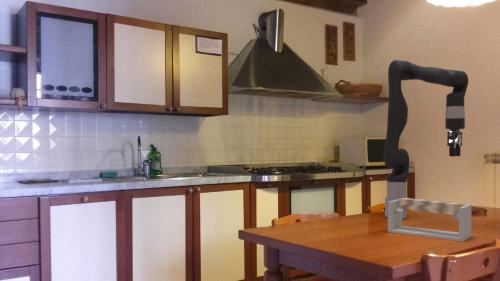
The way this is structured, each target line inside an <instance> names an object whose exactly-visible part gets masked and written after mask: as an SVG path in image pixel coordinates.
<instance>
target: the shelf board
mask: <svg viewBox="0 0 500 281" xmlns="http://www.w3.org/2000/svg"><path fill="white" fill-rule="evenodd" d="M459 208H460V202H451V201H442V200H441V201H439V200H429V199H420V198H410V197H407V198H402V199H399V209H406V210H407V211H416V212H425V213H432V214H441V215H450V216H453V215H457V214H459Z"/></svg>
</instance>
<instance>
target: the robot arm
mask: <svg viewBox="0 0 500 281" xmlns="http://www.w3.org/2000/svg"><path fill="white" fill-rule="evenodd" d="M387 76H388V77H387V78H388V106H387V123H386V124H387V125H386V137H385V143H384V150H383V163H384V164H385V166H386V168H392V171H391V172H390V173H389V174H388V175H387V176H386V196H385V197H384V208H385V209H384V217H385V218H388V202H389V201H393V200H398V199H402V198H408V196H407V193H408V192H407V191H408V189H407V188H408V177H409V174H410V155H409V152H408V151H407V150H406V149H404V148H399V147H400V146H399V145H400V144H399V143H400V138H401V136H402V133H403V131H404V129H405V128H406V125H407V124H408V117H409V116H408V115H409V107H408V103H407V101H406V99H405V96H404V94H403V90H402V81H411V80H413V81H414V80H415V81H417V80H418V81H422V82H425V83H428V84H434V85H441V86H445V87H449V88H453V89H452V92H450V93H447V95H446V97H445V98H446V99H445V114H444V116H445V122H444V125H445V129H446V130H448V131H447V135H446V137H447V138H446V139H447V140H446V141H447V144H446V145H447V146H448V150H449V151H448V155H449V157H451V158H452V157H454V158H455V157H460V156H461V150H462V149H461V147H462V146H463V132H462V131H460V130H464V129H465V128H466V110H465V109H466V108H465V96H466V94H467V90H468V89H467V88H468V85H469V76H468V74H467V73H466V72H465V71H463V70H455V69H445V68H442V67H441V68H440V67H434V66H421V65H417V64H414V63H413V62H411V61H407V60H400V59H397V60H396V59H395V60H391V62H390V63H389V65H388V69H387ZM407 211H408V210H406V213H404V214H402V219H407V216H408V215H407V214H408V213H407Z"/></svg>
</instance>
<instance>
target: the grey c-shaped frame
mask: <svg viewBox="0 0 500 281" xmlns="http://www.w3.org/2000/svg"><path fill="white" fill-rule="evenodd" d="M404 213H406V209H399V199H398V200H393V201H389V202H388V217H387V233H391V234H392V233H393V234H399V235H400V234H402V235H409V236H414V237H415V236H416V237H425V238H432V239H433V238H434V239H440V240H441V239H442V240H448V241H449V240H450V241H456V242H465V241H467V240H468V239H470V238H471V237H472V204H465V205H463V206H459V214H457V215H452V219H453V220H458V232H456V231H448V230H440V229H430V228H421V227H414V226H413V227H411V226H404V225H403V218H402V214H404Z"/></svg>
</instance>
